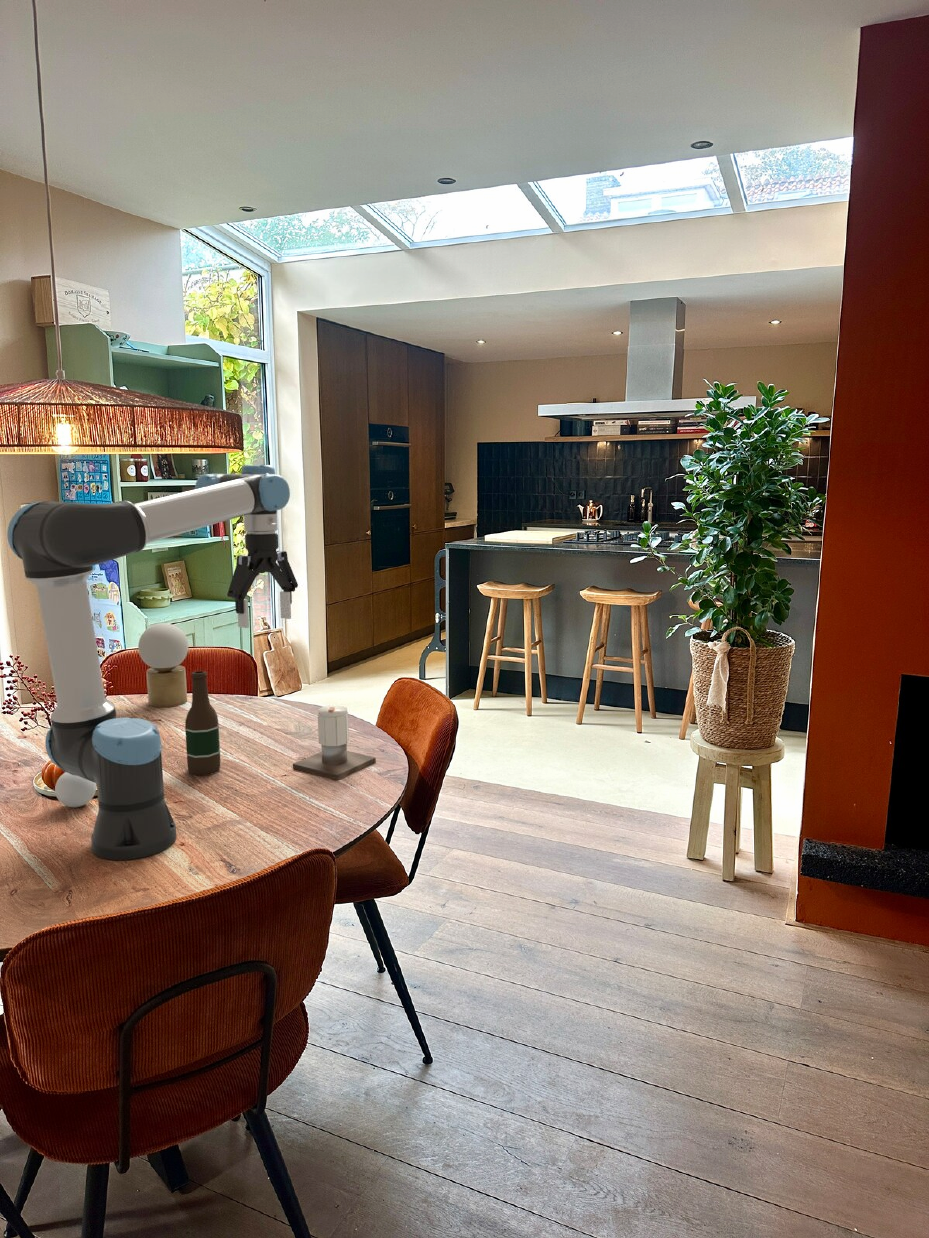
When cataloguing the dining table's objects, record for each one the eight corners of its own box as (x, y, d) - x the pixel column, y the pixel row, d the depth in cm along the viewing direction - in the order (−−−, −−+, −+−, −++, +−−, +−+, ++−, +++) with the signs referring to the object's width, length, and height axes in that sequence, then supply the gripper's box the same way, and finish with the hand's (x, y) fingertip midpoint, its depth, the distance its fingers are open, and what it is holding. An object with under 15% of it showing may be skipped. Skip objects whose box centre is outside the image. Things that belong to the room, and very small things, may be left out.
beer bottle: (211, 777, 195) (205, 676, 191) (181, 774, 197) (174, 675, 193) (227, 765, 203) (222, 668, 199) (197, 763, 205) (192, 667, 200)
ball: (52, 815, 174) (48, 778, 173) (61, 800, 182) (58, 765, 181) (93, 811, 176) (90, 775, 175) (101, 797, 184) (98, 762, 182)
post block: (337, 779, 194) (336, 733, 192) (292, 768, 201) (291, 724, 199) (375, 762, 205) (374, 718, 203) (332, 752, 213) (330, 709, 211)
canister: (322, 736, 206) (321, 702, 204) (350, 737, 205) (349, 703, 204) (316, 745, 199) (315, 710, 197) (345, 746, 198) (344, 711, 197)
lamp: (189, 709, 251) (184, 626, 246) (139, 712, 248) (133, 628, 243) (193, 696, 265) (188, 617, 261) (146, 698, 262) (140, 619, 258)
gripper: (231, 536, 182) (236, 632, 186) (310, 529, 203) (313, 616, 207) (207, 535, 186) (213, 629, 190) (287, 528, 207) (291, 613, 211)
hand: (265, 622), depth 199 cm, fingers open, 13 cm apart
